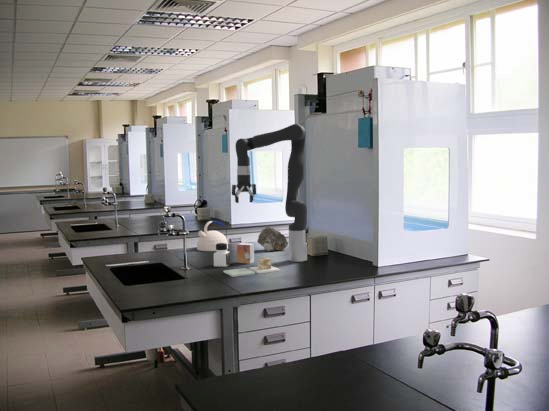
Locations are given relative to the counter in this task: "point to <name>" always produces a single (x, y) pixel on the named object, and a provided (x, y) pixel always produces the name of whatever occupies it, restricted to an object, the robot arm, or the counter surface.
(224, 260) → the medicine bottle
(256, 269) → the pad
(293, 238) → the robot arm
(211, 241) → the kettle
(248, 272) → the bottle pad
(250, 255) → the small box
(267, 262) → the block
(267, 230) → the rock
